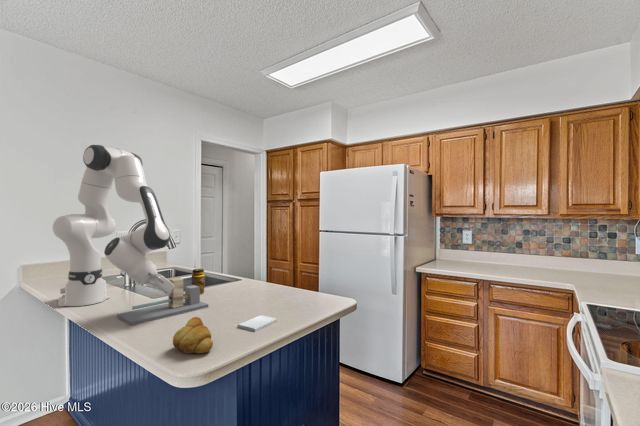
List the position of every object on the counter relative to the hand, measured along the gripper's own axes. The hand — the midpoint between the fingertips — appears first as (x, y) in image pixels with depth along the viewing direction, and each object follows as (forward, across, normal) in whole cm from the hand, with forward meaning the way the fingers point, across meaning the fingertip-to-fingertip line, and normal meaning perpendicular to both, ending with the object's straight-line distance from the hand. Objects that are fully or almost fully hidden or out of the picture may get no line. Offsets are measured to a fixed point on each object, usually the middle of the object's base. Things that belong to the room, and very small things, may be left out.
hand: (169, 292), depth 128 cm
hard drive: (+16, -39, -4) cm, 42 cm away
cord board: (+4, 0, +6) cm, 7 cm away
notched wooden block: (+6, 0, +2) cm, 6 cm away
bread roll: (-3, -41, +14) cm, 44 cm away
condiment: (+20, +18, -10) cm, 29 cm away
